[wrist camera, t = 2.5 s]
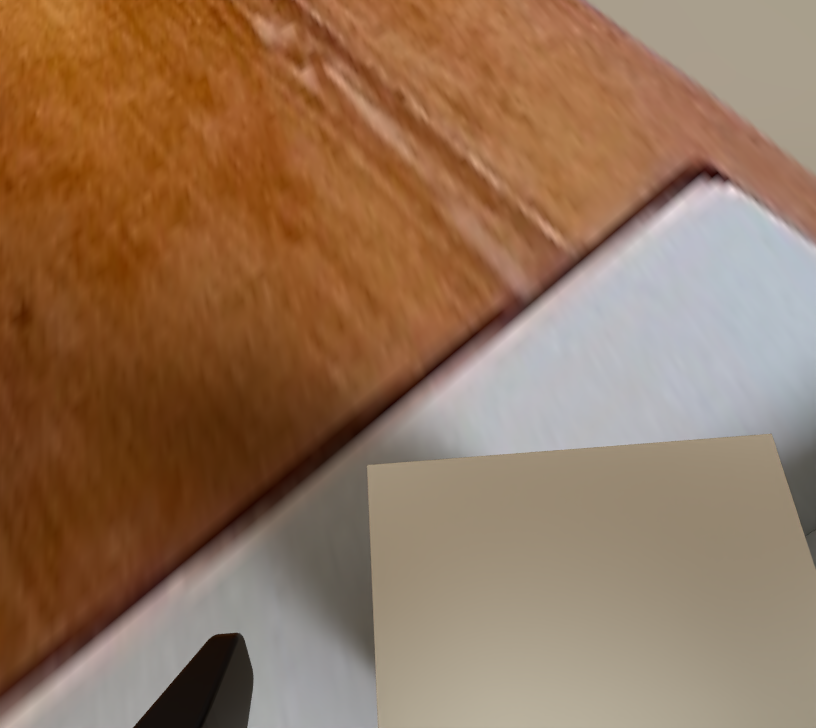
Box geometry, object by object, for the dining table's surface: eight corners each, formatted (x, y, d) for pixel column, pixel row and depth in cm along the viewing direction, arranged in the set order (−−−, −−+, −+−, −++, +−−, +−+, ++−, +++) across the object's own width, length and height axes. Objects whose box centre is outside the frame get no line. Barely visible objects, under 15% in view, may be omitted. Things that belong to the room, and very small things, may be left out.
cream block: (585, 698, 15) (949, 979, 4) (418, 710, 15) (389, 1018, 4) (556, 525, 16) (771, 433, 6) (406, 536, 16) (366, 465, 6)
